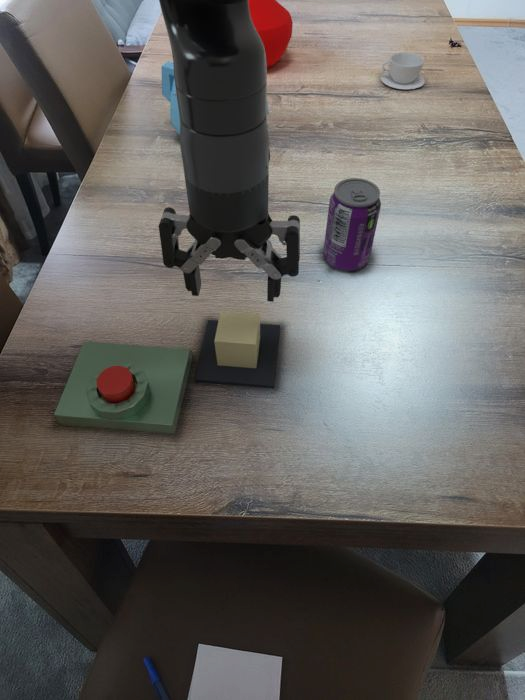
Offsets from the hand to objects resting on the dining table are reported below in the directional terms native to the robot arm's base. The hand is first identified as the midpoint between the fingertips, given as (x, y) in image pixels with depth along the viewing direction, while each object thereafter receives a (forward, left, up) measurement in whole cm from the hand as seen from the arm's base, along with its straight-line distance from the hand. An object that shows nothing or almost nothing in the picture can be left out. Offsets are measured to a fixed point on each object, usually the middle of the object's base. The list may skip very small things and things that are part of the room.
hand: (234, 293), depth 56 cm
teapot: (-12, +52, -11) cm, 54 cm away
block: (0, 0, -11) cm, 11 cm away
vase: (-8, +88, -11) cm, 89 cm away
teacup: (+27, +81, -11) cm, 86 cm away
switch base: (-13, -7, -11) cm, 18 cm away
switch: (-13, -9, -8) cm, 18 cm away
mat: (0, 0, -11) cm, 11 cm away
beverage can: (+14, +20, -11) cm, 27 cm away
